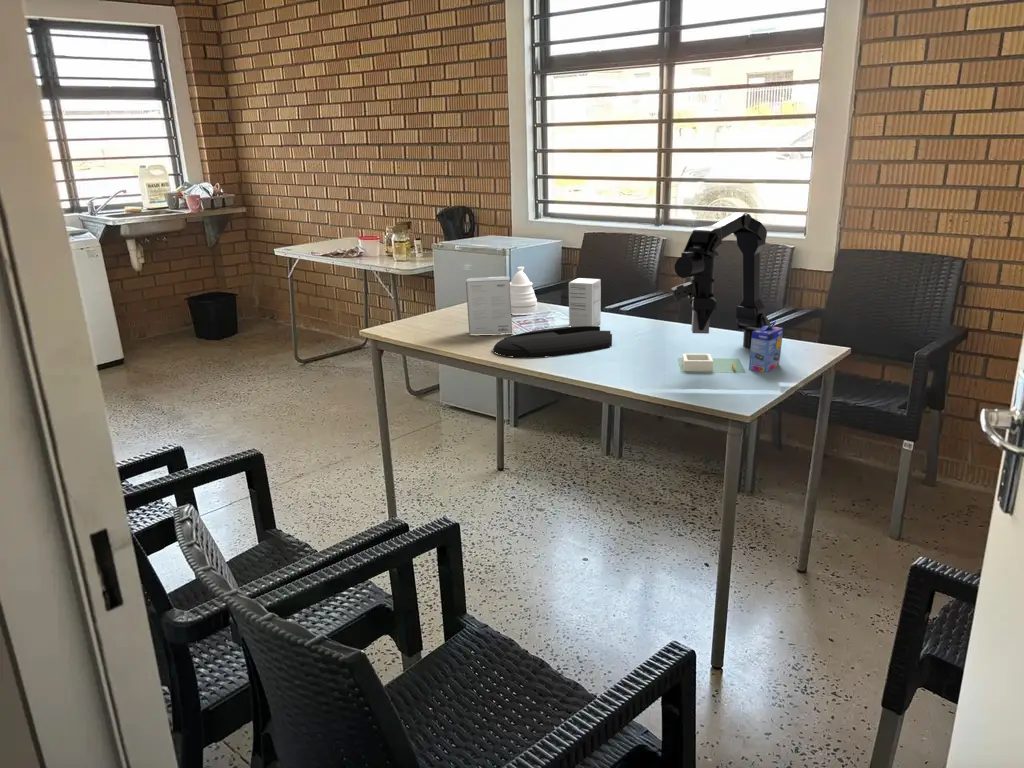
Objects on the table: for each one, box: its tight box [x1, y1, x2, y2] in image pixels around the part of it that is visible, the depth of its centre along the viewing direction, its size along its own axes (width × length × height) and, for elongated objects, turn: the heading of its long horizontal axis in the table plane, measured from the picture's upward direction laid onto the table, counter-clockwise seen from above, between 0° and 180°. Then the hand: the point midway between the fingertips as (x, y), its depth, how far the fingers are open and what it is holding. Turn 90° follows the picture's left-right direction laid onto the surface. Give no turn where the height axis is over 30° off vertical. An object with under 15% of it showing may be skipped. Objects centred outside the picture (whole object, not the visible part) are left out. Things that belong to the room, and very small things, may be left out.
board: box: [677, 357, 747, 374], centre depth 220 cm, size 15×18×2 cm
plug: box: [690, 309, 711, 335], centre depth 215 cm, size 4×4×7 cm
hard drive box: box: [465, 275, 513, 335], centre depth 268 cm, size 16×8×20 cm, turn 89°
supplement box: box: [568, 277, 602, 327], centre depth 276 cm, size 10×9×17 cm
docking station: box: [492, 325, 613, 358], centre depth 251 cm, size 25×41×5 cm, turn 111°
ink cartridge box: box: [748, 320, 784, 373], centre depth 215 cm, size 10×6×14 cm, turn 138°
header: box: [681, 353, 713, 371], centre depth 218 cm, size 8×8×3 cm
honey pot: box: [510, 266, 538, 313], centre depth 301 cm, size 13×13×18 cm
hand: (700, 328), depth 215 cm, fingers closed on plug, 4 cm apart
